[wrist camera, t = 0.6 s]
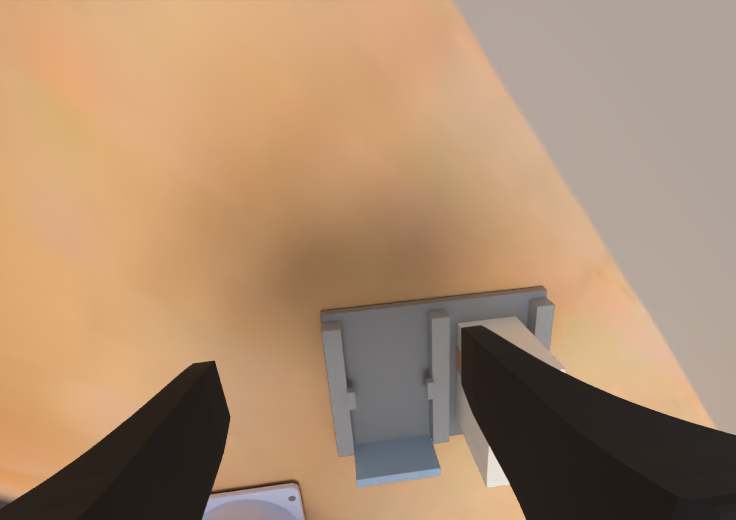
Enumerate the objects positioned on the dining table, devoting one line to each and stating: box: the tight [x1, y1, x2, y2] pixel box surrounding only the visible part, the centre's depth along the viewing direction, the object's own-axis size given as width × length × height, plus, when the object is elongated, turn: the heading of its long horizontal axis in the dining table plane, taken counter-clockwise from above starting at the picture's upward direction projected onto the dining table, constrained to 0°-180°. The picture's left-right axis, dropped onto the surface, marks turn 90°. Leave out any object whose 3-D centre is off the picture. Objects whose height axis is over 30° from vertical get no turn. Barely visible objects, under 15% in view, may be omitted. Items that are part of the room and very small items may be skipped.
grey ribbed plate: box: [321, 286, 555, 487], centre depth 22 cm, size 10×13×3 cm
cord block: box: [456, 316, 566, 488], centre depth 21 cm, size 7×4×5 cm, turn 4°
